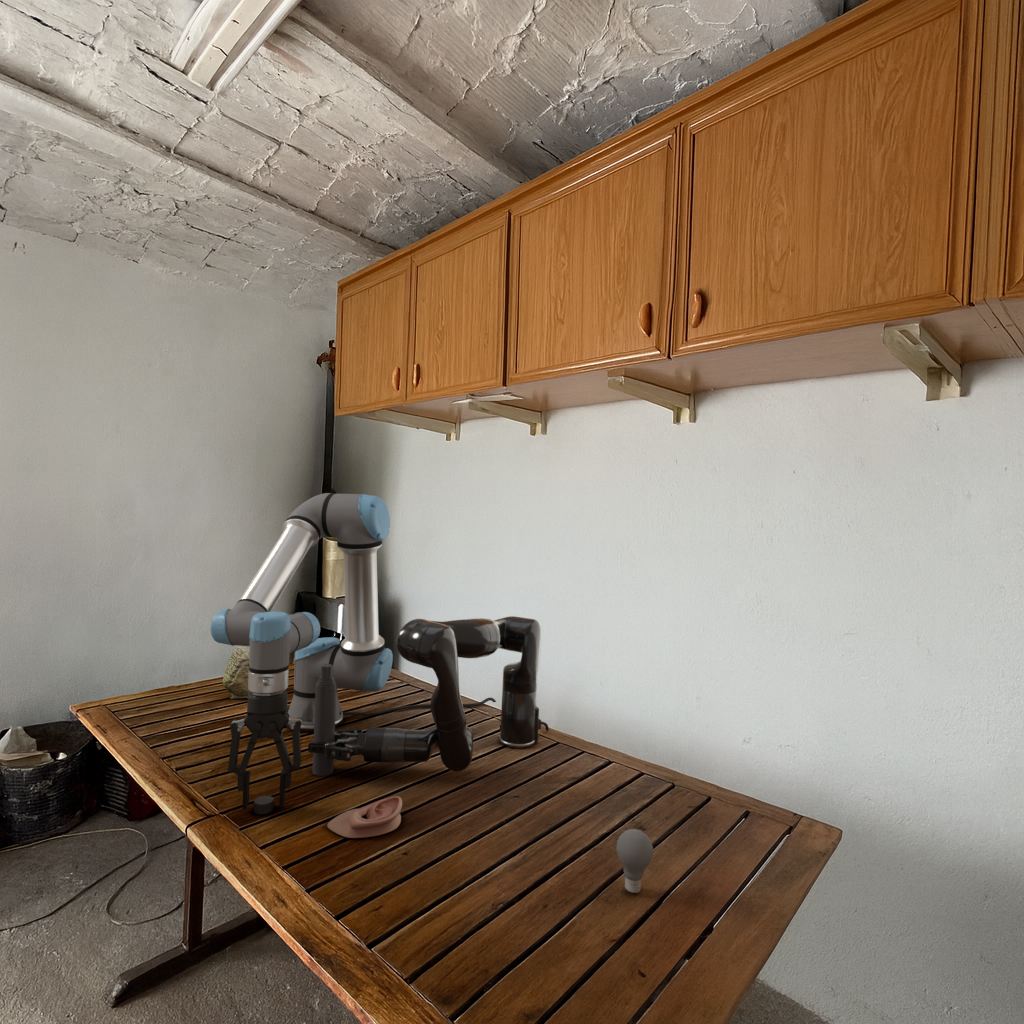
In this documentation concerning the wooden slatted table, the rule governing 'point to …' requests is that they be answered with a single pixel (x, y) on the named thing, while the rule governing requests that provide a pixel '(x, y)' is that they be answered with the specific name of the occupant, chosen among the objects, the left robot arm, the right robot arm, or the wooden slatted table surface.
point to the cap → (263, 805)
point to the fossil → (237, 673)
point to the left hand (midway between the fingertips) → (263, 804)
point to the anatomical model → (369, 819)
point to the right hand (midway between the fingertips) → (312, 742)
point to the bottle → (324, 719)
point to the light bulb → (634, 857)
